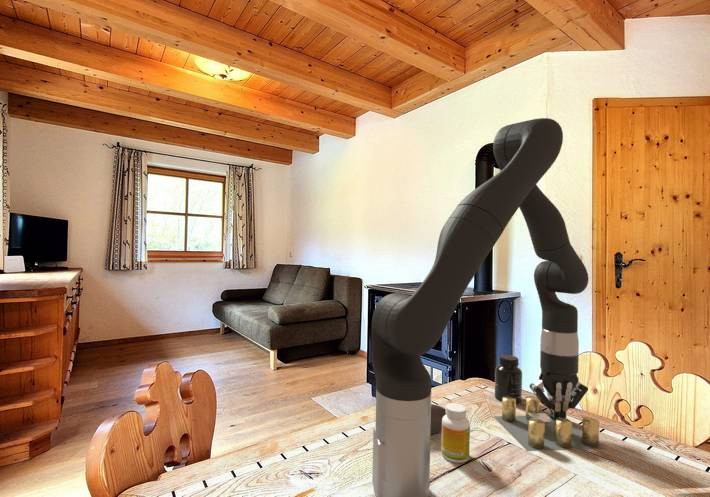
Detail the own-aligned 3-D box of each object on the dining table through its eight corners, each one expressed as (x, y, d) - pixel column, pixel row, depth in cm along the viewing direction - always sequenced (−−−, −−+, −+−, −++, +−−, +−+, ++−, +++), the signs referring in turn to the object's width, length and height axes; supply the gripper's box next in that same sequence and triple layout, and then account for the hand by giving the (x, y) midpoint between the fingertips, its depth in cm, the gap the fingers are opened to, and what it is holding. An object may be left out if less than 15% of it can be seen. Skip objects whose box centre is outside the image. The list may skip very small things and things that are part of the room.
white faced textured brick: (537, 435, 80) (537, 421, 80) (527, 426, 84) (527, 413, 84) (555, 435, 80) (555, 421, 80) (544, 426, 84) (544, 413, 84)
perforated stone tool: (446, 426, 85) (447, 396, 85) (456, 437, 80) (456, 406, 80) (383, 429, 83) (384, 399, 83) (389, 441, 77) (389, 409, 77)
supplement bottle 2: (489, 398, 101) (489, 355, 101) (506, 394, 104) (507, 352, 104) (508, 408, 95) (509, 362, 95) (527, 403, 98) (528, 359, 98)
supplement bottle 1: (470, 465, 69) (471, 414, 69) (441, 461, 70) (442, 411, 70) (467, 450, 75) (468, 403, 75) (440, 446, 76) (441, 400, 76)
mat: (498, 454, 73) (498, 451, 73) (469, 419, 88) (469, 416, 88) (605, 451, 75) (605, 448, 75) (559, 417, 90) (559, 414, 90)
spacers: (533, 449, 74) (533, 425, 74) (499, 416, 89) (500, 396, 89) (602, 447, 75) (602, 423, 75) (558, 415, 90) (558, 395, 90)
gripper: (540, 355, 78) (539, 435, 78) (599, 354, 79) (598, 433, 79) (522, 345, 85) (521, 419, 85) (575, 344, 86) (574, 417, 86)
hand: (558, 426), depth 82 cm, fingers closed
